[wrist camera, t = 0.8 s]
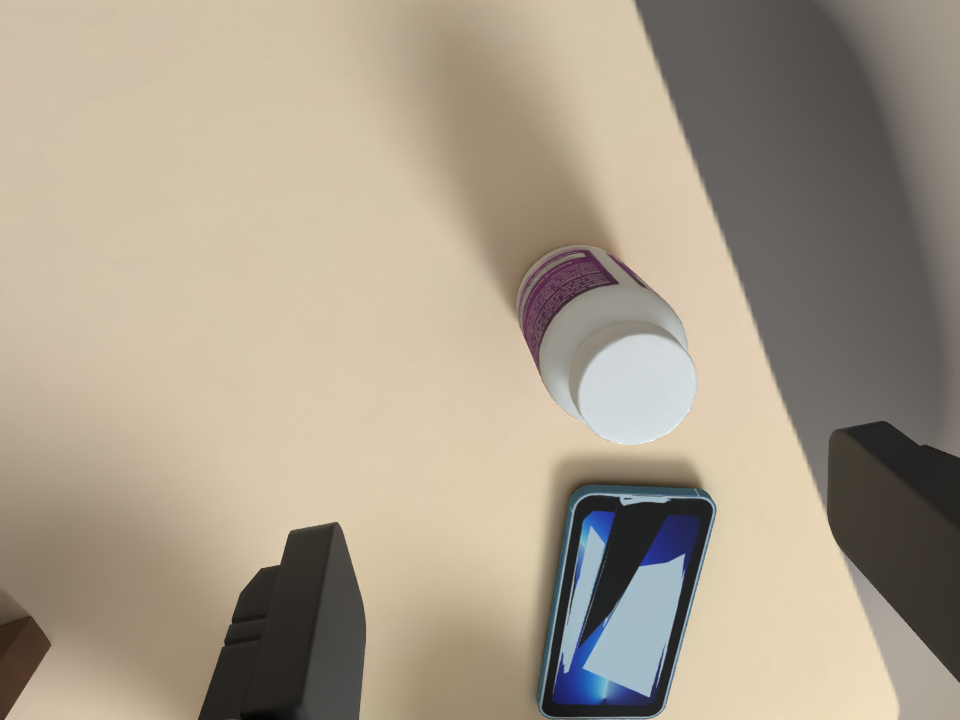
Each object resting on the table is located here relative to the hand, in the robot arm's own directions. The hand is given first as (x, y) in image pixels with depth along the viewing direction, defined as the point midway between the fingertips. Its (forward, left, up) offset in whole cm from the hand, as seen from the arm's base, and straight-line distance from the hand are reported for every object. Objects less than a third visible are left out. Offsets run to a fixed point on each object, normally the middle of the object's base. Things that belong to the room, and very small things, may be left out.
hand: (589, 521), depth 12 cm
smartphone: (+21, +1, -20) cm, 29 cm away
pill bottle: (+4, +3, -21) cm, 21 cm away
